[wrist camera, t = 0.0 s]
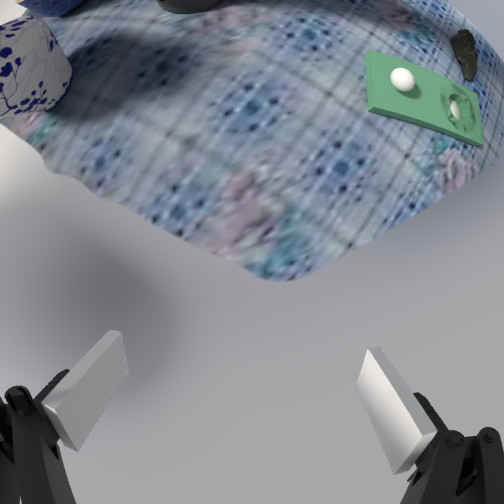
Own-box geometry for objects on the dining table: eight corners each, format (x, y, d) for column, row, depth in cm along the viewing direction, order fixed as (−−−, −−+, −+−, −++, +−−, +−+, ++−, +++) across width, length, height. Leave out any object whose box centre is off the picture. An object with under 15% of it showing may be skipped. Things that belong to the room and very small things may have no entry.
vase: (36, 60, 32) (-51, 24, 3) (99, 35, 32) (9, -36, 3) (18, 137, 36) (-89, 128, 7) (78, 121, 36) (-57, 86, 7)
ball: (385, 70, 31) (395, 60, 27) (406, 76, 31) (417, 68, 27) (387, 90, 32) (398, 82, 28) (408, 97, 32) (420, 90, 28)
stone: (452, 72, 32) (467, 65, 27) (445, 28, 29) (457, 19, 24) (474, 87, 32) (489, 81, 27) (467, 42, 29) (479, 35, 24)
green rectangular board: (367, 111, 35) (374, 106, 33) (364, 55, 33) (369, 49, 31) (475, 146, 35) (483, 145, 33) (470, 96, 33) (477, 93, 30)
